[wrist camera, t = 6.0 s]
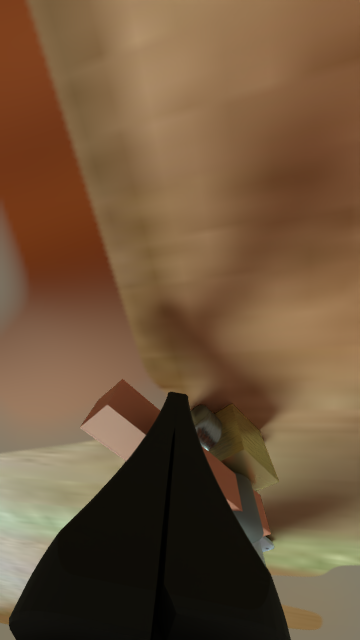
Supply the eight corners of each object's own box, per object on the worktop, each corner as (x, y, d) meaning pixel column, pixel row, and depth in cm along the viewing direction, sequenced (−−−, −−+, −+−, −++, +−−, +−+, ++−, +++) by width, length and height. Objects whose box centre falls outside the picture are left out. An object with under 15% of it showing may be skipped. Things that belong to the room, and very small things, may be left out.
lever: (263, 491, 13) (277, 539, 11) (230, 505, 14) (236, 552, 12) (126, 374, 11) (108, 405, 8) (96, 401, 12) (72, 435, 9)
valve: (222, 464, 19) (230, 517, 15) (173, 421, 18) (167, 468, 14) (270, 441, 18) (292, 494, 14) (219, 391, 16) (228, 434, 12)
